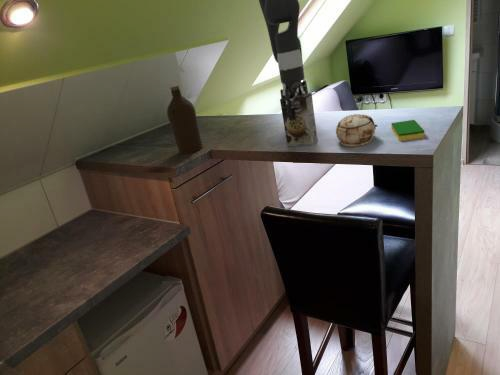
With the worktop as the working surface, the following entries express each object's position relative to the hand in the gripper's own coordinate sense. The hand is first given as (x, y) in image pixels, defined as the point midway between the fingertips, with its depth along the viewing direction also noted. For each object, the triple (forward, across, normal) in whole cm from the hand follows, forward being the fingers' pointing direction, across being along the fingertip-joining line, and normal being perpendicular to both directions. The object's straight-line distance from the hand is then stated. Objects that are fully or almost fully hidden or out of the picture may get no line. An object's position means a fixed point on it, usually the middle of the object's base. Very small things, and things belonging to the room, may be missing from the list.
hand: (298, 116), depth 130 cm
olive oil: (+9, +6, -46) cm, 47 cm away
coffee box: (+9, 0, 0) cm, 9 cm away
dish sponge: (+10, -8, +32) cm, 34 cm away
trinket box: (+10, -2, +18) cm, 20 cm away
